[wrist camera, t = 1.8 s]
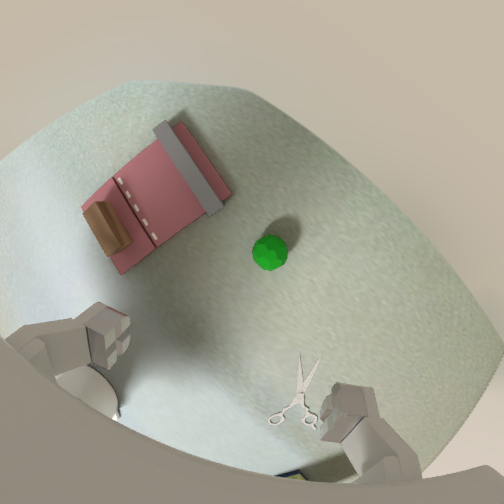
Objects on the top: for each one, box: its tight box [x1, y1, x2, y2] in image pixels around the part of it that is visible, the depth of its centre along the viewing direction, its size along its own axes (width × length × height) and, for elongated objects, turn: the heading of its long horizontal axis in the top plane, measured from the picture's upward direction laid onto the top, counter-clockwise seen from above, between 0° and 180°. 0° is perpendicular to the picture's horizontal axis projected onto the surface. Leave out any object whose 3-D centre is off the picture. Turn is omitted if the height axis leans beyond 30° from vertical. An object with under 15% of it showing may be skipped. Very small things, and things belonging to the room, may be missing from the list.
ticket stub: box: [81, 177, 157, 275], centre depth 38 cm, size 8×14×6 cm, turn 34°
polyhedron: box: [252, 235, 287, 271], centre depth 39 cm, size 5×5×5 cm
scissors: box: [268, 355, 322, 430], centre depth 46 cm, size 11×1×20 cm
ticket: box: [114, 120, 232, 247], centre depth 38 cm, size 14×16×3 cm
